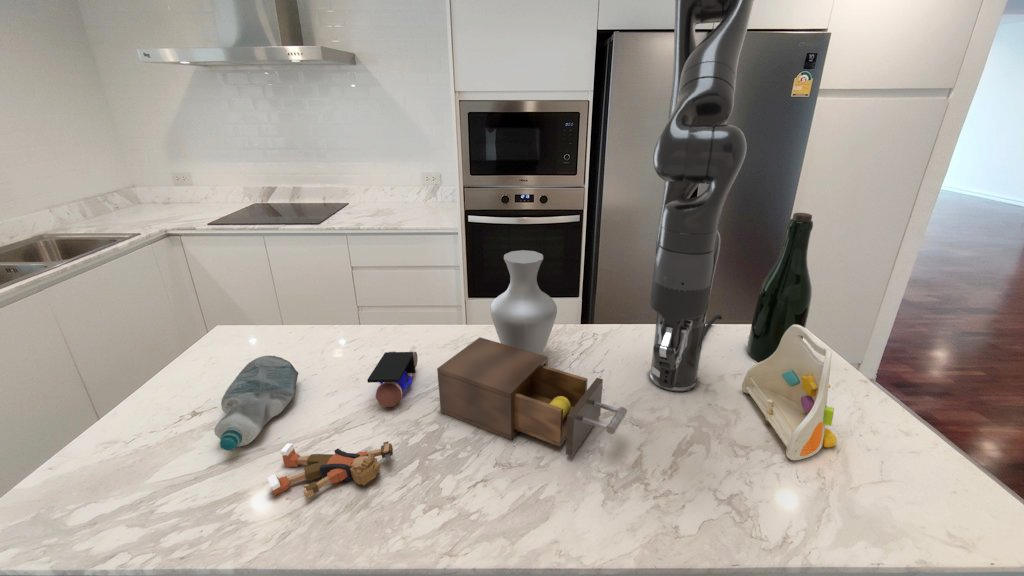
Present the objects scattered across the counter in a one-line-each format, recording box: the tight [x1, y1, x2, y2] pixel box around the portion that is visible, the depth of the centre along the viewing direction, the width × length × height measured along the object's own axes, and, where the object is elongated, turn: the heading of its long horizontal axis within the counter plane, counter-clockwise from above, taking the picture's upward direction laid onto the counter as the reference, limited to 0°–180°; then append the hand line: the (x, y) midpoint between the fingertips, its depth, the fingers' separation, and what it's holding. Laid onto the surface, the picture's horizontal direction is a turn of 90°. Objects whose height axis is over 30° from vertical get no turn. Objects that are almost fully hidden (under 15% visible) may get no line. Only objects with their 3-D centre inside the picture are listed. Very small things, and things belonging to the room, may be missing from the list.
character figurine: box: [267, 441, 394, 499], centre depth 76 cm, size 12×5×18 cm
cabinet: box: [436, 336, 549, 441], centre depth 92 cm, size 16×14×10 cm
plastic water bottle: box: [213, 355, 299, 451], centre depth 90 cm, size 13×7×25 cm
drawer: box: [513, 365, 628, 458], centre depth 84 cm, size 20×13×8 cm, turn 59°
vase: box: [489, 249, 558, 355], centre depth 104 cm, size 14×14×25 cm
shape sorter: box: [741, 325, 837, 461], centre depth 84 cm, size 20×10×18 cm, turn 177°
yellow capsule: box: [550, 396, 571, 419], centre depth 85 cm, size 7×4×4 cm, turn 149°
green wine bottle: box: [746, 212, 814, 362], centre depth 103 cm, size 10×10×33 cm
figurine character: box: [366, 351, 419, 408], centre depth 98 cm, size 7×8×15 cm
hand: (667, 384), depth 72 cm, fingers closed
